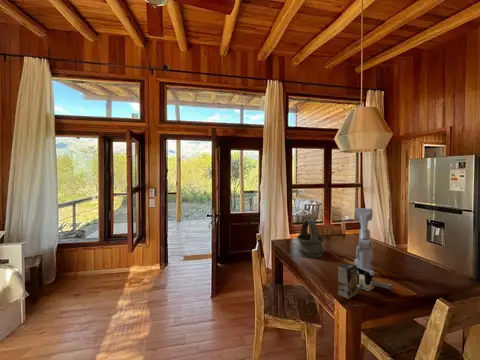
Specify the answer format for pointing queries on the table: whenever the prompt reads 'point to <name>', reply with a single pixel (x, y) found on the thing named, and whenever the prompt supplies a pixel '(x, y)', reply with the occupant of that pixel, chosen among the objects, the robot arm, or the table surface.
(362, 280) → the u block
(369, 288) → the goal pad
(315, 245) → the basket with handle
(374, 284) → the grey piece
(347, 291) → the coffee box
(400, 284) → the table surface
